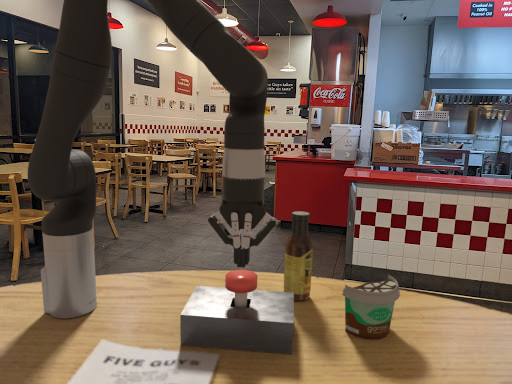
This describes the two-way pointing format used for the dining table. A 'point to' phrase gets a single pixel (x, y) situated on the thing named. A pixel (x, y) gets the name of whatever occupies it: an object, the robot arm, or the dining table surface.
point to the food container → (370, 308)
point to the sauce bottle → (298, 258)
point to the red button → (241, 285)
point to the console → (238, 320)
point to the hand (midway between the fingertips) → (241, 265)
